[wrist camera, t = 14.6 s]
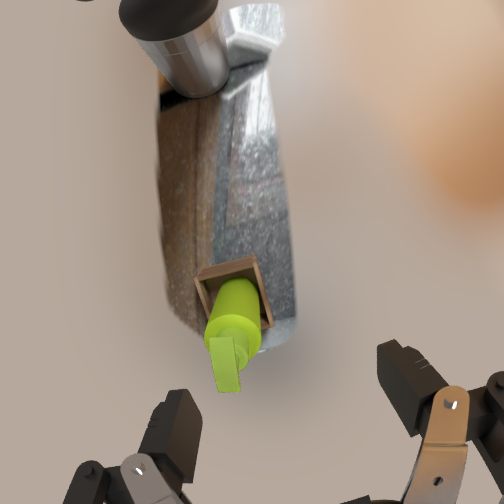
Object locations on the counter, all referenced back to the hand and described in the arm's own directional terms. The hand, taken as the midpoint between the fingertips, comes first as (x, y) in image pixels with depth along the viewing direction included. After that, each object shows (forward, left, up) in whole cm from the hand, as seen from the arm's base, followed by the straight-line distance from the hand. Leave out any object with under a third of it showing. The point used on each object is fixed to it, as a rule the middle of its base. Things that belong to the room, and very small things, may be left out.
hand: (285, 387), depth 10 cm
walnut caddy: (+5, -5, -30) cm, 31 cm away
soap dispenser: (+5, -5, -29) cm, 30 cm away
